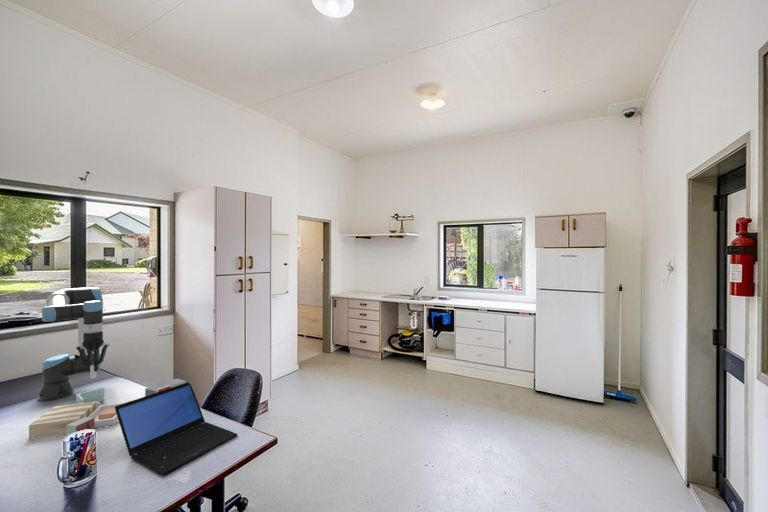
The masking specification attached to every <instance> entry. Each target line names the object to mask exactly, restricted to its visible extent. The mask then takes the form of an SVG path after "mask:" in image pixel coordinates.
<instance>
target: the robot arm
mask: <svg viewBox="0 0 768 512" xmlns="http://www.w3.org/2000/svg"><path fill="white" fill-rule="evenodd" d="M103 299H104V298H103V293H102V291H101V288H99V287H92V286H91V287H90V286H89V287H77V288H76V287H73V288H72V287H71V288H64V289H60V290H57V291H55V292H53V293H51V294H49V295H48V296H47V298H46V300H45V304H46V306H43V307H42V309H41V321H43V322H44V323H45V322H57V321H66V320H67V321H68V320H76V319H77V321H78V322H77V326H78V327H77V329H78V330H77V347H76V351H75V352H74V355H70V354H69V353H65V354H58V355H55V356H54V355H53V356H52V357H51V356H50V357H48V358H47V359H45V360H43V362H42V368H41V370H42V385H41V388H40V390H39V393H38V394H37V400H38V401H41V402H47V401H48V402H49V401H54V400H59V399H63V398H66V397H69V396H70V395H73V394H74V392H75V391H74V386H73V385H72V382H71V376H76V375H81V374H86V373H88V374H89V379H90V380H93V379H95V378H97V372H98V371H99V370H100V368H101V367H102V364H103V362H104V360H105V356H106V353H107V349H108V347H109V346H110V343H106V342H105V341H104V332H103V330H104V323H103V322H104V320H103V319H104V310H103V309H104V300H103ZM100 348H101V351H100Z"/></svg>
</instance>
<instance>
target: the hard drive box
mask: <svg viewBox="0 0 768 512" xmlns="http://www.w3.org/2000/svg"><path fill="white" fill-rule="evenodd" d="M185 383H186V380H183V379H180V378H173V379H170V380H168V381H164V382H162V383H158V384H155V385H152V386H149V387H146V388H145V389H144V391H145V393H144V397H145V396H148V395H151V394H154V393H157V392H160V391H163V390H166V389H169V388H172V387H175V386H179V385H182V384H185Z"/></svg>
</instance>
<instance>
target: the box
mask: <svg viewBox="0 0 768 512" xmlns="http://www.w3.org/2000/svg"><path fill="white" fill-rule="evenodd" d="M127 402H128V401H127ZM127 402H119V403H111V404H110V403H108V404H102V405H101V404H100V405H98V408H97V409H96V410H95V411H94V412H92V413H91V414H90V415H89V416H88V417H91V418H95V428H96V429H99V428H98V427H102V428H106V427H105V426H109V427H114V426H115V425H116V424H117V423H118V422H119V421H118V417H117V414H116V415H115V416H114V417H113V418H111V419H104V420H98V415H99V414H100V413H101V412H102V411H103V410H104V409H110V408H115V406H118V405H121V404H124V403H127ZM117 421H118V422H117ZM113 425H114V426H113Z"/></svg>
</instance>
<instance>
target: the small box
mask: <svg viewBox="0 0 768 512" xmlns="http://www.w3.org/2000/svg"><path fill="white" fill-rule="evenodd" d="M84 429H95V418H91V417H84V418H82V419H80V420H77V421H75V422H73V423H70V424H68V425H66V433H65V437H66V436H67V435H68V434H71V433H73V432H76V431H80V430H84Z"/></svg>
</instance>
